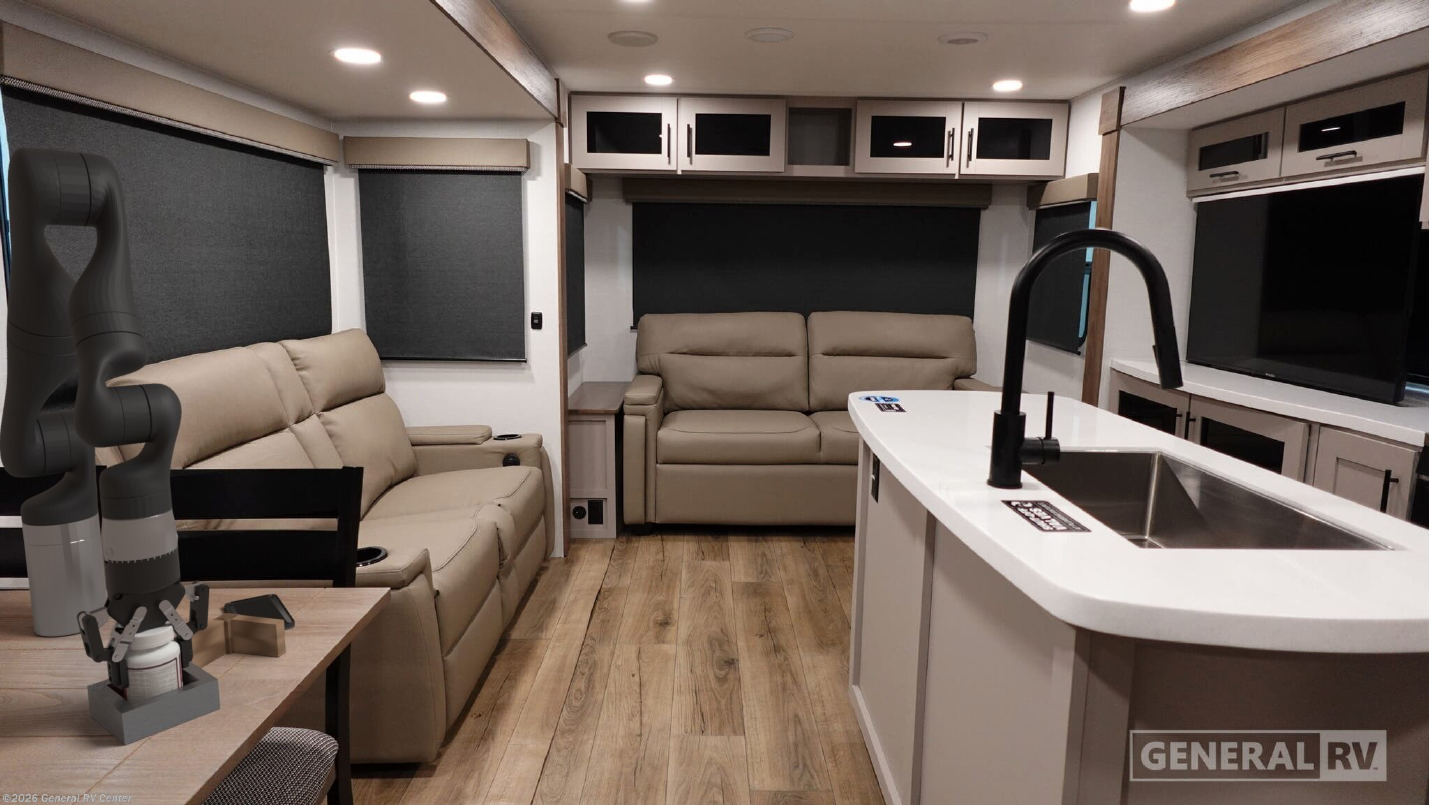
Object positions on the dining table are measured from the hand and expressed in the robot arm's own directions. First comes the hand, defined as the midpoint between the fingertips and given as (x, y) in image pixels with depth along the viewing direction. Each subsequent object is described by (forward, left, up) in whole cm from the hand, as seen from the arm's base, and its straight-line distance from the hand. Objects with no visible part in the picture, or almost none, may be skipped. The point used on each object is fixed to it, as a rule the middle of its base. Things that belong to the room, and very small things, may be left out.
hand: (152, 676), depth 106 cm
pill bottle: (0, 0, -5) cm, 5 cm away
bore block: (0, 0, -5) cm, 5 cm away
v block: (-9, +13, -5) cm, 16 cm away
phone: (-19, +22, -6) cm, 30 cm away
